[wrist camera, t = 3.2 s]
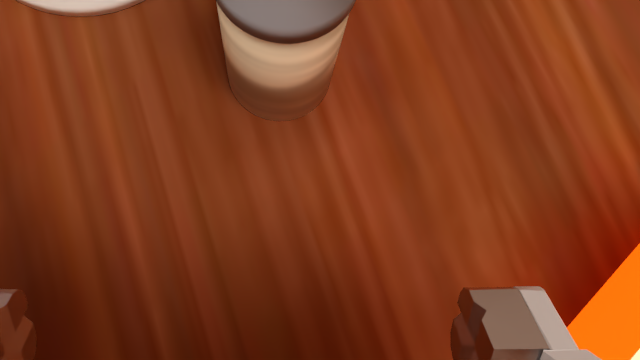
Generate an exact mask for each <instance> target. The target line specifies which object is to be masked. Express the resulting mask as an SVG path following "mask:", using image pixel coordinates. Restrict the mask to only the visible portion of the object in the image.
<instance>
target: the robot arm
mask: <svg viewBox="0 0 640 360" xmlns="http://www.w3.org/2000/svg"><path fill="white" fill-rule="evenodd" d="M457 303H458V306H459V308H460V311H461V313H460V314H459V315H458V316H457V317H456V318H454V319H453V323H452V328H451V351H452V357H453V360H602V359H600V358H599V357H597V356H596V355H594V354H593V353H591V352H590V351H588V350H587V349H579V348H578V346H577V345H576V343H575V341H574V339H573V338H572V336H571V334H570V333H569V331H568V329H567V328H566V326H565V324H564V323H563V321H562V319H561V317H560V316H559V314H558V312H557V311H556V309H555V307H554V306H553V304H552V302H551V301H550V299H549V297H548V295H547V294H546V292H545V290H544V289H543V288H541V287H540V286H520V287H466V288H463V289H462V291H461V292H460V295H459V299H458V302H457ZM27 307H28V302H27V299H26V296H25V293H24V292H23V291H21V290H18V289H0V360H34V358H35V353H36V347H37V340H36V331H35V327H34V323H32V322H31V321H30V320H29V319H27V318H26V317H25V316H24V314H25V312H26V310H27Z"/></svg>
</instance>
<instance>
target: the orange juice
mask: <svg viewBox="0 0 640 360" xmlns="http://www.w3.org/2000/svg"><path fill="white" fill-rule="evenodd" d="M567 329H568V331H569V333H570V334H571V336H572V338H573V339H574V341H575V343H576V345H577V346H578V348H579V349H587V350H588V351H590V352H591V353H593V354H594V355H596V356H597V357H599V358H600V359H602V360H640V243H639V245H638V246H637V247H636V248H635V249H634V250H633V252H632V253H631V254H630V255H629V256H628V257H627V259H626V260H625V261H624V262H623V263H622V264H621V265H620V267H619V268H618V269H617V270H616V271H615V272H614V274H613V275H612V276H611V277H610V278H609V279H608V281H607V282H606V283H605V284H604V285H603V286H602V288H601V289H600V290H599V291H598V292H597V293H596V294H595V296H594V297H593V298H592V299H591V300H590V301H589V303H588V304H587V305H586V306H585V307H584V308H583V310H582V311H581V312H580V313H579V314H578V315H577V317H576V318H575V319H574V320H573V321H572V322H571V323H570V325H569V326H568V327H567Z"/></svg>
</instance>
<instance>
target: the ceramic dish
mask: <svg viewBox="0 0 640 360" xmlns="http://www.w3.org/2000/svg"><path fill="white" fill-rule="evenodd" d="M16 1H18V2H20V3H21V4H24V5H26V6H29V7H31V8H34V9H36V10H40V11H43V12H47V13H51V14H57V15H63V16H79V17H85V16H97V15H104V14H109V13H114V12H117V11H120V10H123V9H127V8H130V7H132V6H134V5H136V4H138V3H141V2H143V1H145V0H16Z"/></svg>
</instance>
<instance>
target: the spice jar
mask: <svg viewBox="0 0 640 360" xmlns="http://www.w3.org/2000/svg"><path fill="white" fill-rule="evenodd" d="M355 1H356V0H216V2H217V9H218V15H219V22H220V28H221V35H222V41H223V48H224V54H225V61H226V67H227V74H228V80H229V84H230V88H231V90H232V92H233V94H234V96H235V98H236V99H237V100H238V102H239V103H240V104H241V105H242V106H243V107H244V108H245V109H247V110H248V111H249V112H251V113H253V114H254V115H256V116H258V117H261V118H264V119H267V120H273V121H288V120H293V119H297V118H300V117H302V116H304V115H306V114H308V113H310V112H311V111H312V110H314V109H315V108H316V107H317V106H318V105H319V104H320V102H321V101H322V100H323V98H324V97H325V95H326V93H327V90H328V87H329V84H330V80H331V77H332V73H333V70H334V66H335V62H336V59H337V55H338V52H339V48H340V44H341V41H342V37H343V34H344V30H345V27H346V23H347V19H348V16H349V13H350V11H351V9H352V8H353V6H354V3H355Z"/></svg>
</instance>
